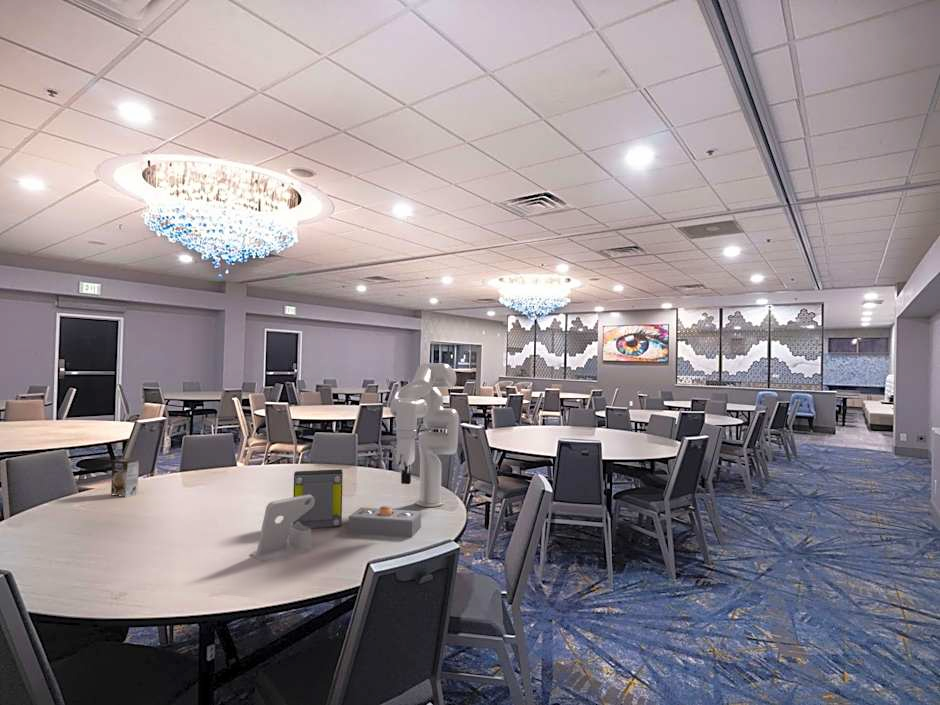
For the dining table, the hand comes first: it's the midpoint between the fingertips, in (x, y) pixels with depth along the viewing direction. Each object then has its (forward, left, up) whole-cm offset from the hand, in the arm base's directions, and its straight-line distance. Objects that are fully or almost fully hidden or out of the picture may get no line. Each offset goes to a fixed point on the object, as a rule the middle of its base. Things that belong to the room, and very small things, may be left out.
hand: (406, 483), depth 194 cm
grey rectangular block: (0, -7, -18) cm, 19 cm away
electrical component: (0, -34, -18) cm, 39 cm away
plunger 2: (0, 0, -16) cm, 16 cm away
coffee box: (-23, -140, -18) cm, 143 cm away
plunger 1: (0, -15, -16) cm, 22 cm away
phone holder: (+29, -33, -18) cm, 47 cm away
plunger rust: (0, -7, -14) cm, 16 cm away
